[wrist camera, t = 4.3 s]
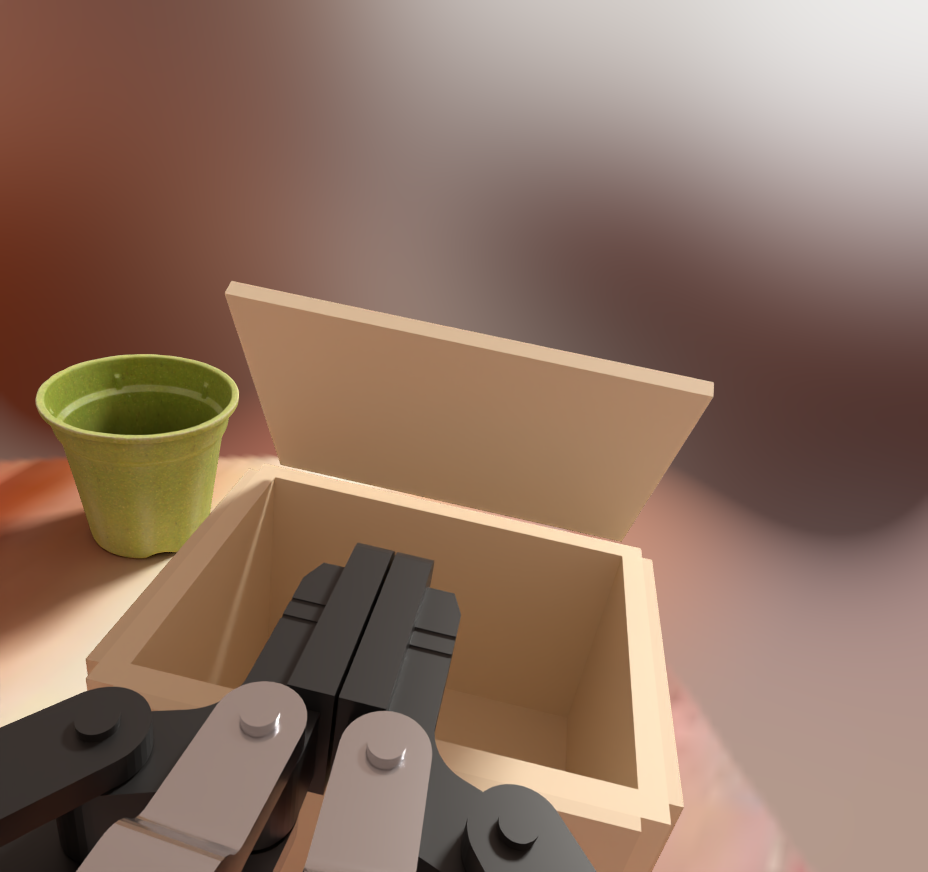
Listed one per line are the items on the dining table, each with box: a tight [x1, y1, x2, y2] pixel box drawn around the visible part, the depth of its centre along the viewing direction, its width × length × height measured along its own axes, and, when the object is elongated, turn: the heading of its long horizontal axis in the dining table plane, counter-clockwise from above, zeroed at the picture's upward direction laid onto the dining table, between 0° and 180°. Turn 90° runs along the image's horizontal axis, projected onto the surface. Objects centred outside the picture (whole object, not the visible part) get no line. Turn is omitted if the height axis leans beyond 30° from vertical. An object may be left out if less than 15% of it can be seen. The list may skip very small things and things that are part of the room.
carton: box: [86, 463, 684, 872], centre depth 26 cm, size 17×12×10 cm
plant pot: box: [36, 354, 239, 558], centre depth 38 cm, size 9×9×9 cm
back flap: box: [225, 281, 714, 542], centre depth 24 cm, size 14×1×10 cm
